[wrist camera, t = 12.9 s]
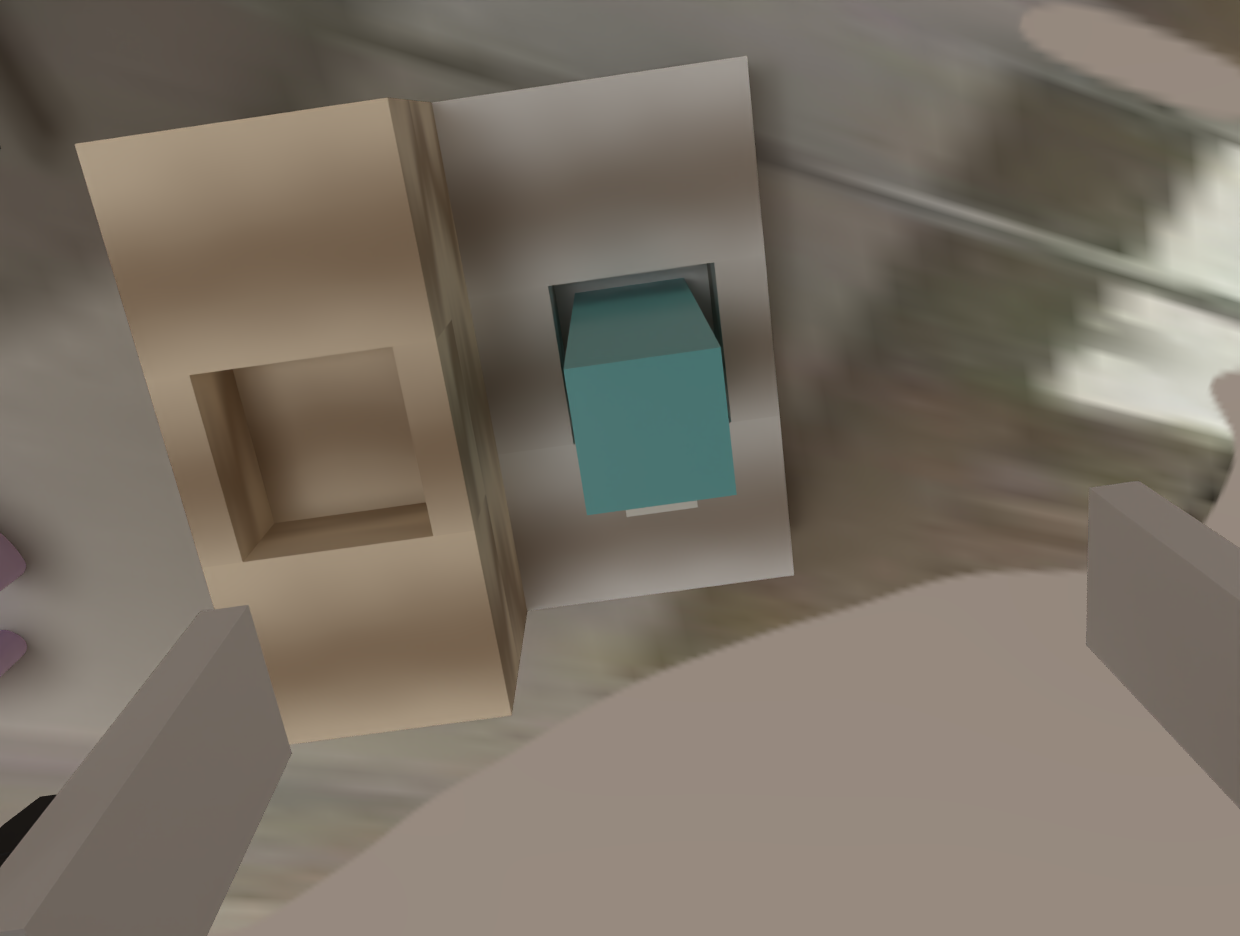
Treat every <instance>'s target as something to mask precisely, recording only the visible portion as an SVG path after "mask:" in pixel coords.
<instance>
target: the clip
mask: <svg viewBox="0 0 1240 936" xmlns="http://www.w3.org/2000/svg"><path fill="white" fill-rule="evenodd" d="M25 570H26V563H25V561H24V559H23V557H22V556H21V555H20V553H19V552H18V551H17V549H16V548H15V547H14V546H13V544H12V543H11V542H10V541H9V540H8V539H7V538H6V537H5V536H4V535H3V534H1V533H0V591H1V590H3V589H4V588H5V587H6V586H8V585H9V584H10V583H12V582H13V581H14V580H15V579H17V578H18V577H19V576H21V575H22V574H23V573H24V572H25ZM26 650H27V644H26V642H25V640H24V639H23V638H22V637H21V636H19V635H18V634H16V633H14V632H11V631H9V630H1V631H0V677H1V676H2V675H3V674H4V673H5V672H6V671H7V670H8V669H9V668H10V667H11V666H13V665H14V664H15V663H16V662H17V661H18V660H19V659H20V658H21V657H22V656H23V655H24V653H25V652H26Z"/></svg>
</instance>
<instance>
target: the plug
mask: <svg viewBox="0 0 1240 936" xmlns="http://www.w3.org/2000/svg"><path fill="white" fill-rule="evenodd" d="M563 370H564V376H565V382H566V388H567V395H568V401H569V407H570V413H571V419H572V426H573V432H574V438H575V444H576V450H577V457H578V463H579V469H580V475H581V481H582V488H583V494H584V500H585V506H586V512H587V515H593V514H601V513H608V512H615V511H623V510H626V516H627V517H631V516H638V515H646V514H653V513H660V512H668V511H675V510H682V509H690V508H697V507H698V504H697V500H703V499H710V498H718V497H725V496H732V495H737V492H736V483H735V474H734V465H733V455H732V446H731V437H730V428H729V418H728V409H727V400H726V391H725V381H724V372H723V363H722V354H721V347H720V345H719V343H718V341H717V339H716V337H715V335H714V334H713V332H712V330H711V328H710V326H709V324H708V322H707V320H706V319H705V317H704V315H703V313H702V311H701V309H700V307H699V305H698V304H697V302H696V300H695V298H694V296H693V294H692V292H691V290H690V289H689V287H688V285H687V283H686V281H685V279H684V278H677V279H670V280H663V281H656V282H649V283H642V284H635V285H628V286H621V287H614V288H607V289H600V290H593V291H586V292H579V293H575V296H574V302H573V309H572V316H571V322H570V329H569V336H568V342H567V349H566V356H565V362H564V369H563Z"/></svg>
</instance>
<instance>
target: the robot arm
mask: <svg viewBox="0 0 1240 936" xmlns="http://www.w3.org/2000/svg"><path fill="white" fill-rule="evenodd" d="M1087 576H1088V577H1087V632H1086V645H1087V646H1088V647H1089V648H1090V649H1091V651H1092V652H1093V653H1094V654H1095V655H1096V656H1097V657H1098V658H1099V659H1100V660H1101V661H1102V662H1103V663H1104V664H1105V665H1106V667H1107V668H1108V669H1110V671H1111V672H1112V673H1113V674H1114V675H1115V676H1116V677H1117V678H1118V679H1119V680H1120V681H1121V683H1122V684H1123V685H1124V686H1125V687H1126V688H1127V689H1128V690H1129V691H1130V692H1131V693H1132V694H1133V695H1134V696H1135V698H1136V699H1137V700H1138V701H1139V702H1140V703H1141V704H1142V705H1143V706H1144V707H1145V708H1146V709H1147V710H1148V711H1149V712H1150V713H1151V715H1152V716H1153V717H1154V718H1155V719H1156V720H1157V721H1158V722H1159V723H1160V724H1161V725H1162V726H1163V727H1164V728H1165V730H1166V731H1167V732H1168V733H1169V734H1170V735H1171V736H1172V737H1173V738H1174V739H1175V740H1176V741H1177V742H1178V743H1179V745H1180V746H1181V747H1182V748H1183V749H1184V750H1185V751H1186V752H1187V753H1188V754H1189V755H1190V756H1191V757H1192V758H1193V759H1194V761H1196V763H1197V764H1198V765H1200V767H1201V768H1202V769H1203V770H1204V771H1205V772H1206V773H1207V774H1208V775H1209V777H1210V778H1211V779H1212V780H1213V781H1214V782H1215V783H1216V784H1217V785H1218V786H1219V787H1220V788H1221V789H1222V790H1223V791H1224V793H1225V794H1226V795H1227V796H1228V797H1229V798H1230V799H1231V800H1232V801H1233V802H1234V803H1235V804H1236V805H1237V806H1238V808H1239V809H1240V548H1239V547H1237V546H1236V545H1234V544H1233V543H1231V542H1230V541H1228V540H1227V539H1225V538H1224V537H1222V536H1221V535H1219V534H1218V533H1216V532H1215V531H1213V530H1212V529H1210V528H1209V527H1207V526H1206V525H1204V524H1203V523H1201V522H1200V521H1198V520H1197V519H1195V518H1194V517H1192V516H1191V515H1189V514H1188V513H1186V512H1185V511H1183V510H1182V509H1180V508H1179V507H1177V506H1176V505H1174V504H1173V503H1171V502H1170V501H1168V500H1167V499H1165V498H1164V497H1162V496H1161V495H1159V494H1158V493H1156V492H1155V491H1153V490H1152V489H1150V488H1149V487H1147V486H1146V485H1144V484H1143V483H1141V482H1140V481H1134V482H1127V483H1120V484H1113V485H1105V486H1098V487H1091V488H1089V519H1088V575H1087ZM291 754H292V752H291V749H290V745H289V742H288V738H287V735H286V731H285V728H284V725H283V721H282V718H281V714H280V711H279V707H278V704H277V701H276V697H275V694H274V690H273V687H272V684H271V680H270V677H269V673H268V670H267V666H266V663H265V660H264V656H263V653H262V649H261V646H260V642H259V639H258V636H257V632H256V629H255V625H254V622H253V619H252V615H251V612H250V608H249V605H243V606H236V607H229V608H222V609H214V610H207V611H200V612H199V614H198V615H197V616H196V618H195V619H194V620H193V621H192V623H191V624H190V625H189V627H188V628H187V629H186V630H185V632H184V633H183V634H182V635H181V637H180V638H179V639H178V641H177V642H176V643H175V644H174V646H173V647H172V648H171V650H170V651H169V652H168V653H167V655H166V656H165V657H164V658H163V660H162V661H161V662H160V664H159V665H158V666H157V667H156V669H155V670H154V671H153V673H152V674H151V675H150V676H149V678H148V679H147V680H146V682H145V683H144V684H143V685H142V687H141V688H140V689H139V690H138V692H137V693H136V694H135V696H134V697H133V698H132V699H131V701H130V702H129V703H128V705H127V706H126V707H125V708H124V710H123V711H122V712H121V713H120V715H119V716H118V717H117V719H116V720H115V721H114V722H113V724H112V725H111V726H110V728H109V729H108V730H107V731H106V733H105V734H104V735H103V737H102V738H101V739H100V740H99V742H98V743H97V744H96V745H95V747H94V748H93V749H92V751H91V752H90V753H89V754H88V756H87V757H86V758H85V760H84V761H83V762H82V763H81V765H80V766H79V767H78V768H77V770H76V771H75V772H74V774H73V775H72V776H71V777H70V779H69V780H68V781H67V783H66V784H65V785H64V786H63V788H62V789H61V790H60V792H59V793H58V794H57V795H50V796H42V797H39V798H38V799H37V800H35V801H34V802H33V803H31V804H30V805H29V806H27V807H26V808H25V809H23V810H22V811H21V812H20V813H18V814H17V815H16V816H14V817H13V818H12V819H10V820H9V821H8V822H6V823H5V824H4V825H3V826H2V827H1V828H0V936H207V935H208V932H209V930H210V928H211V926H212V924H213V922H214V920H215V917H216V915H217V913H218V911H219V909H220V907H221V905H222V902H223V900H224V898H225V896H226V894H227V892H228V889H229V887H230V885H231V883H232V881H233V879H234V877H235V874H236V872H237V870H238V868H239V866H240V864H241V862H242V859H243V857H244V855H245V853H246V851H247V849H248V846H249V844H250V842H251V840H252V838H253V836H254V834H255V831H256V829H257V827H258V825H259V823H260V821H261V819H262V816H263V814H264V812H265V810H266V808H267V806H268V803H269V801H270V799H271V797H272V795H273V793H274V791H275V788H276V786H277V784H278V782H279V780H280V778H281V776H282V773H283V771H284V769H285V767H286V765H287V763H288V760H289V758H290V756H291Z"/></svg>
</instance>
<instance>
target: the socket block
mask: <svg viewBox="0 0 1240 936" xmlns="http://www.w3.org/2000/svg"><path fill="white" fill-rule="evenodd" d="M75 147H76V150H77V154H78V157H79V160H80V164H81V167H82V170H83V174H84V177H85V180H86V184H87V187H88V190H89V194H90V197H91V200H92V204H93V207H94V210H95V214H96V217H97V220H98V224H99V227H100V230H101V234H102V237H103V240H104V244H105V247H106V250H107V253H108V257H109V260H110V263H111V267H112V270H113V273H114V277H115V280H116V283H117V287H118V290H119V293H120V297H121V300H122V303H123V307H124V310H125V313H126V317H127V320H128V323H129V327H130V330H131V333H132V337H133V340H134V343H135V347H136V350H137V353H138V357H139V360H140V363H141V367H142V370H143V373H144V377H145V380H146V383H147V387H148V390H149V393H150V396H151V400H152V403H153V406H154V410H155V413H156V416H157V420H158V423H159V426H160V430H161V433H162V436H163V440H164V443H165V446H166V450H167V453H168V456H169V460H170V463H171V466H172V470H173V473H174V476H175V480H176V483H177V486H178V490H179V493H180V496H181V500H182V503H183V506H184V510H185V513H186V516H187V520H188V523H189V526H190V530H191V533H192V536H193V539H194V543H195V546H196V549H197V553H198V556H199V559H200V563H201V566H202V569H203V573H204V576H205V579H206V583H207V586H208V589H209V593H210V596H211V599H212V603H213V606H214V609H222V608H229V607H236V606H243V605H249V608H250V612H251V615H252V619H253V622H254V625H255V629H256V632H257V636H258V639H259V642H260V646H261V649H262V653H263V656H264V660H265V663H266V666H267V670H268V673H269V677H270V680H271V684H272V687H273V690H274V694H275V697H276V701H277V704H278V707H279V711H280V714H281V718H282V721H283V725H284V728H285V731H286V735H287V738H288V742H289V745H290V744H297V743H305V742H313V741H320V740H328V739H336V738H343V737H351V736H358V735H366V734H374V733H381V732H389V731H397V730H404V729H412V728H419V727H427V726H435V725H442V724H450V723H458V722H465V721H473V720H480V719H488V718H496V717H503V716H511V715H512V710H513V703H514V697H515V690H516V683H517V677H518V670H519V663H520V656H521V650H522V643H523V636H524V630H525V623H526V616H527V611H531V610H538V609H546V608H553V607H561V606H568V605H576V604H583V603H591V602H598V601H606V600H613V599H621V598H628V597H635V596H643V595H650V594H658V593H665V592H673V591H680V590H688V589H695V588H703V587H710V586H718V585H725V584H732V583H740V582H747V581H755V580H762V579H770V578H777V577H785V576H792V575H794V568H793V557H792V546H791V535H790V524H789V513H788V502H787V491H786V480H785V469H784V458H783V447H782V436H781V425H780V414H779V403H778V392H777V381H776V370H775V359H774V348H773V337H772V326H771V315H770V304H769V293H768V282H767V271H766V260H765V249H764V238H763V227H762V216H761V205H760V194H759V183H758V172H757V161H756V150H755V139H754V128H753V117H752V106H751V95H750V84H749V73H748V62H747V56H742V57H735V58H728V59H722V60H715V61H708V62H701V63H695V64H688V65H681V66H674V67H668V68H661V69H654V70H647V71H641V72H634V73H627V74H621V75H614V76H607V77H600V78H594V79H587V80H580V81H573V82H567V83H560V84H553V85H546V86H540V87H533V88H526V89H519V90H513V91H506V92H499V93H493V94H486V95H479V96H472V97H466V98H459V99H452V100H445V101H439V102H432V103H431V102H422V101H414V100H405V99H396V98H381V99H374V100H367V101H360V102H354V103H347V104H340V105H334V106H327V107H320V108H313V109H307V110H300V111H293V112H287V113H280V114H273V115H266V116H260V117H253V118H246V119H239V120H233V121H226V122H219V123H213V124H206V125H199V126H192V127H186V128H179V129H172V130H166V131H159V132H152V133H145V134H139V135H132V136H125V137H118V138H112V139H105V140H98V141H92V142H85V143H78V144H75ZM677 278H684V279H685V281H686V283H687V285H688V287H689V289H690V290H691V292H692V294H693V296H694V298H695V300H696V302H697V304H698V305H699V307H700V309H701V311H702V313H703V315H704V317H705V319H706V320H707V322H708V324H709V326H710V328H711V330H712V332H713V334H714V335H715V337H716V339H717V341H718V343H719V345H720V347H721V354H722V363H723V372H724V381H725V391H726V400H727V409H728V418H729V428H730V437H731V446H732V455H733V465H734V474H735V483H736V492H737V495H732V496H725V497H718V498H710V499H703V500H697V504H698V507H697V508H690V509H682V510H675V511H668V512H660V513H653V514H646V515H638V516H631V517H627V516H626V510H623V511H615V512H608V513H601V514H593V515H587V512H586V506H585V500H584V494H583V488H582V481H581V475H580V469H579V463H578V457H577V450H576V444H575V438H574V432H573V426H572V419H571V413H570V407H569V401H568V395H567V388H566V382H565V376H564V370H563V369H564V362H565V356H566V349H567V342H568V336H569V329H570V322H571V316H572V309H573V302H574V296H575V293H579V292H586V291H593V290H600V289H607V288H614V287H621V286H628V285H635V284H642V283H649V282H656V281H663V280H670V279H677Z"/></svg>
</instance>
